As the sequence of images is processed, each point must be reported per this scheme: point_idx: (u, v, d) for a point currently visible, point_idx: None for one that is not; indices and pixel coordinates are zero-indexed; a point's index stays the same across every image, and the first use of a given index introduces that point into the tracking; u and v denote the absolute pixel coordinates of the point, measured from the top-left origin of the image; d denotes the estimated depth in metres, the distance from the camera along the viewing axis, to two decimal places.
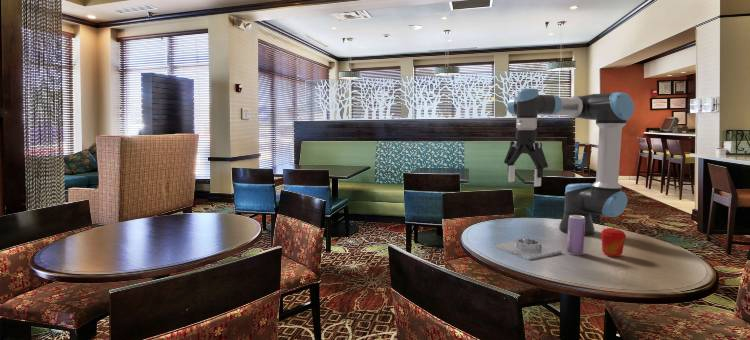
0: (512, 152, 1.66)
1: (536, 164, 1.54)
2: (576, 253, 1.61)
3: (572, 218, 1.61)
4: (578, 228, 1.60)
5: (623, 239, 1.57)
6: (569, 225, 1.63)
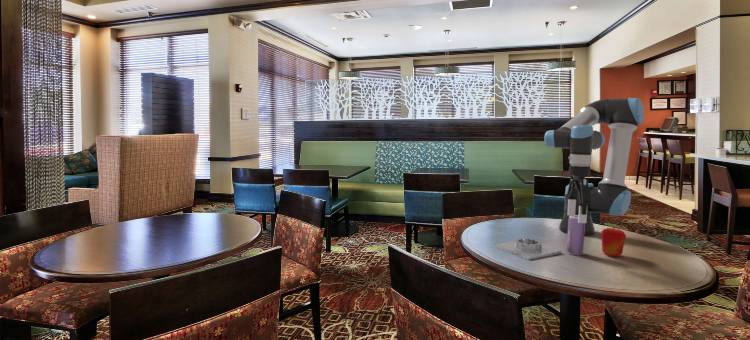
0: None
1: (580, 201, 1.55)
2: (576, 253, 1.61)
3: (572, 218, 1.61)
4: (578, 228, 1.60)
5: (623, 239, 1.57)
6: (569, 225, 1.63)
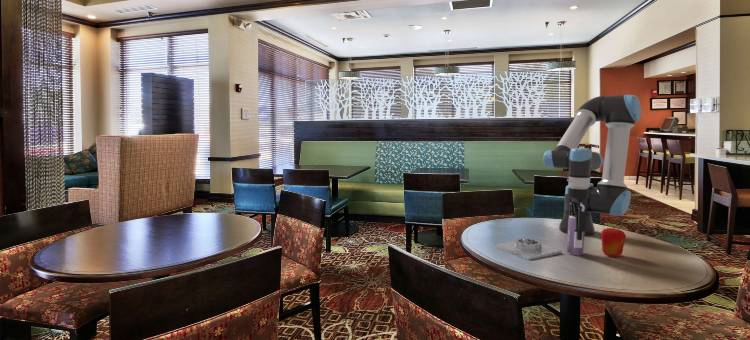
0: None
1: (576, 226, 1.59)
2: (576, 253, 1.61)
3: (572, 218, 1.61)
4: None
5: (623, 239, 1.57)
6: (569, 225, 1.63)
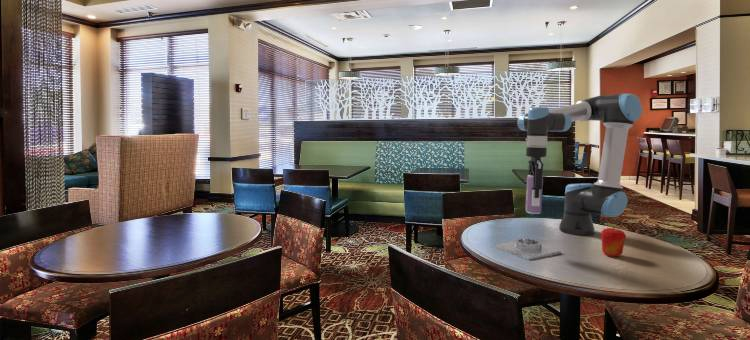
0: None
1: (533, 184, 1.61)
2: (534, 211, 1.63)
3: (530, 177, 1.63)
4: None
5: (623, 239, 1.57)
6: (527, 184, 1.64)
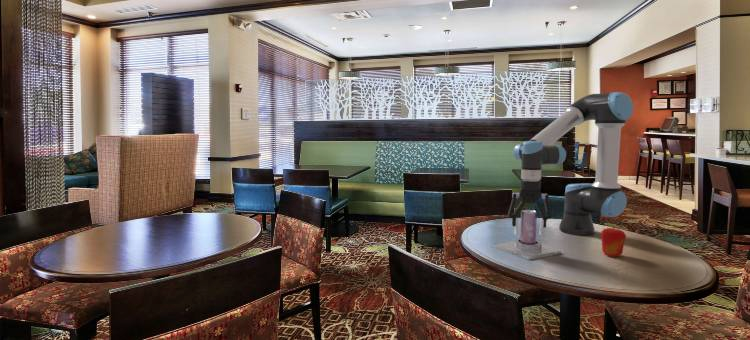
0: None
1: (543, 215, 1.64)
2: None
3: (534, 213, 1.64)
4: None
5: (623, 239, 1.57)
6: (532, 221, 1.64)
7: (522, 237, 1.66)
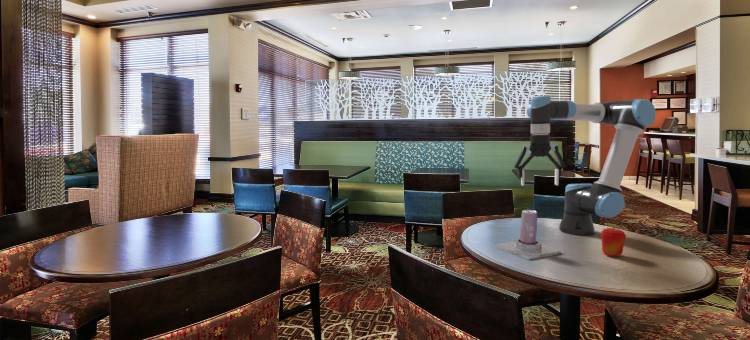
0: None
1: (558, 165, 1.69)
2: None
3: (535, 213, 1.64)
4: None
5: (623, 239, 1.57)
6: (532, 221, 1.64)
7: (522, 237, 1.66)
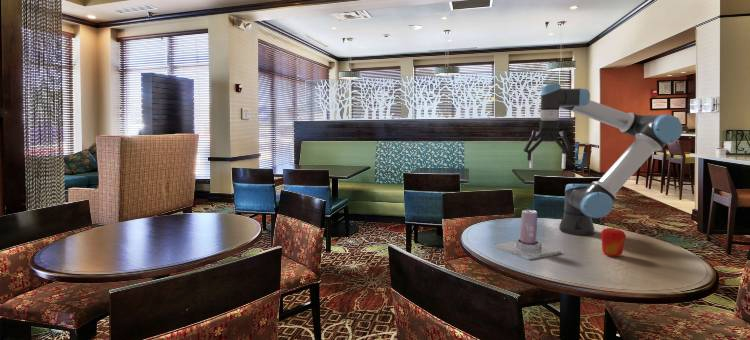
0: None
1: (565, 150, 1.79)
2: None
3: (535, 213, 1.64)
4: None
5: (623, 239, 1.57)
6: (532, 221, 1.64)
7: (522, 237, 1.66)
